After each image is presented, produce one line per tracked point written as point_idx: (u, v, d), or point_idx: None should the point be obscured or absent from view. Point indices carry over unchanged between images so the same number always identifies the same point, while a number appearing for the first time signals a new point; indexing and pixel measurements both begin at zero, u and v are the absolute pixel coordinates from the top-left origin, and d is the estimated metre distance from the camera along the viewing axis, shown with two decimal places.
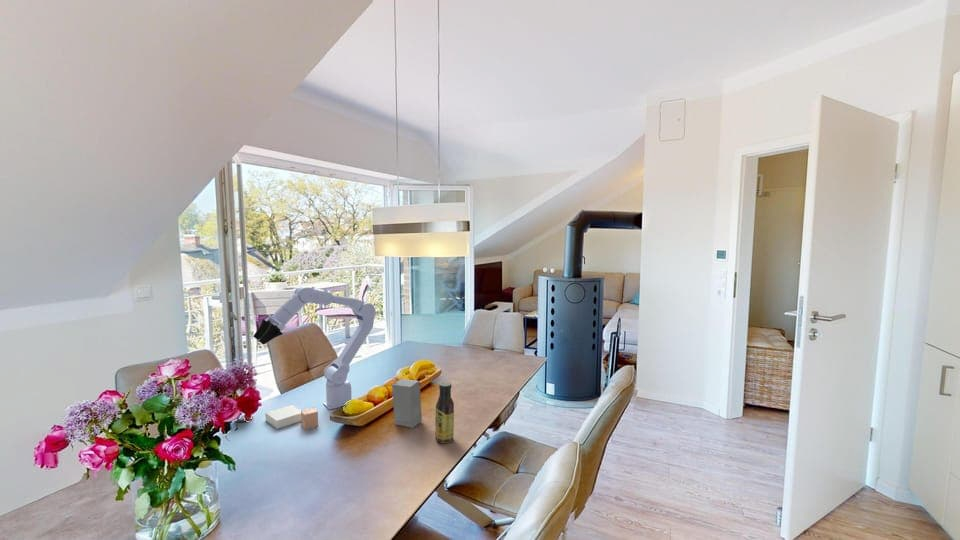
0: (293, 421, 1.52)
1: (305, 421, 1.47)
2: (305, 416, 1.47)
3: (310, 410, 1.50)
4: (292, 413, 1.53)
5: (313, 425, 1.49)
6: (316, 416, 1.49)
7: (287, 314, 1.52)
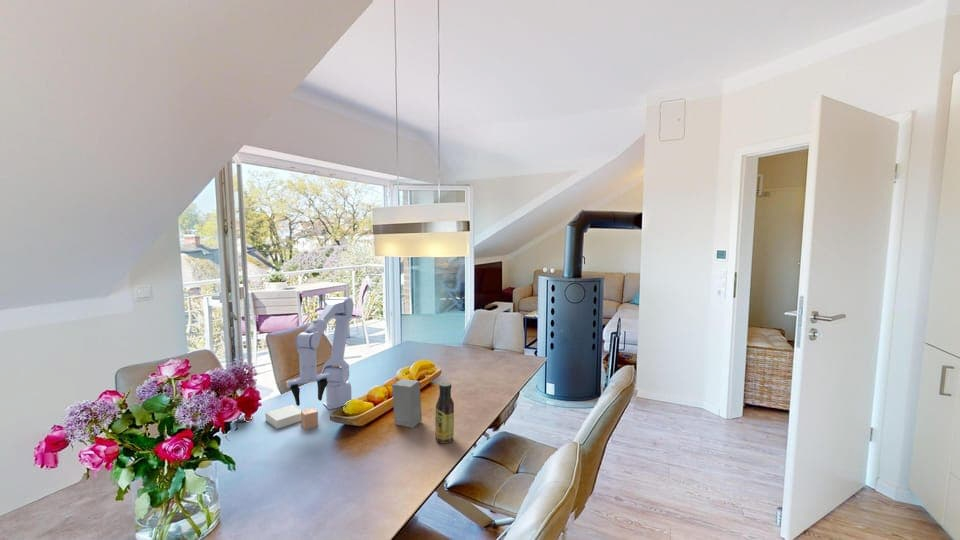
0: (293, 421, 1.52)
1: (305, 421, 1.47)
2: (305, 416, 1.47)
3: (310, 410, 1.50)
4: (292, 413, 1.53)
5: (313, 425, 1.49)
6: (316, 416, 1.49)
7: None
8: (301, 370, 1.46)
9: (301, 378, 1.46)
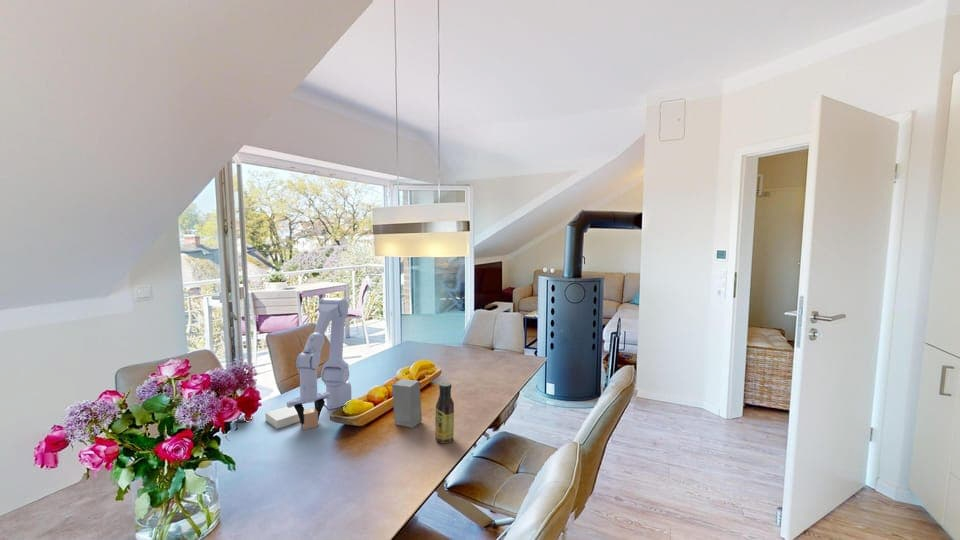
0: (293, 421, 1.52)
1: (305, 421, 1.47)
2: (305, 416, 1.47)
3: (310, 410, 1.50)
4: (292, 413, 1.53)
5: (313, 425, 1.49)
6: (316, 416, 1.49)
7: None
8: (302, 390, 1.47)
9: (302, 398, 1.47)
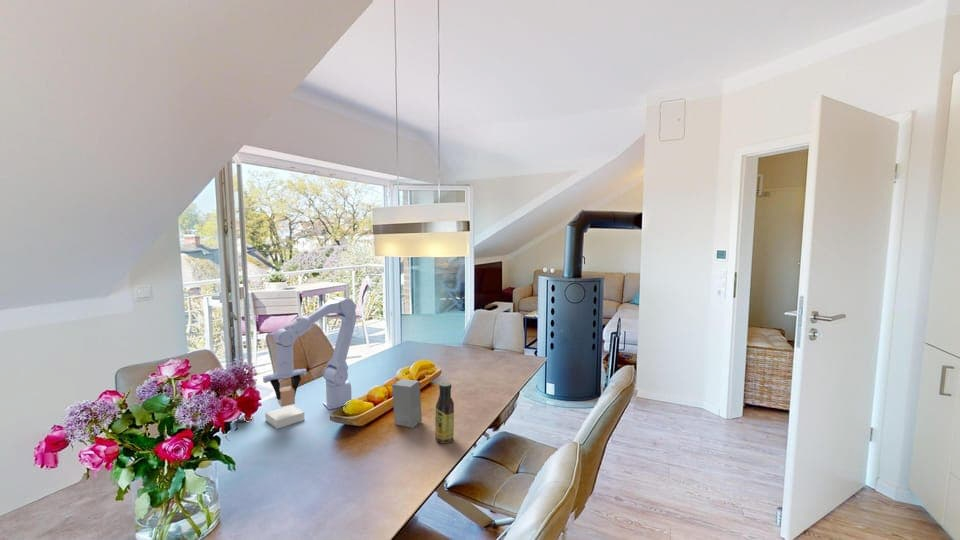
0: (293, 421, 1.52)
1: (282, 398, 1.50)
2: (282, 393, 1.50)
3: (287, 388, 1.53)
4: (292, 413, 1.53)
5: (290, 402, 1.52)
6: (293, 394, 1.52)
7: None
8: (278, 366, 1.50)
9: (278, 374, 1.50)
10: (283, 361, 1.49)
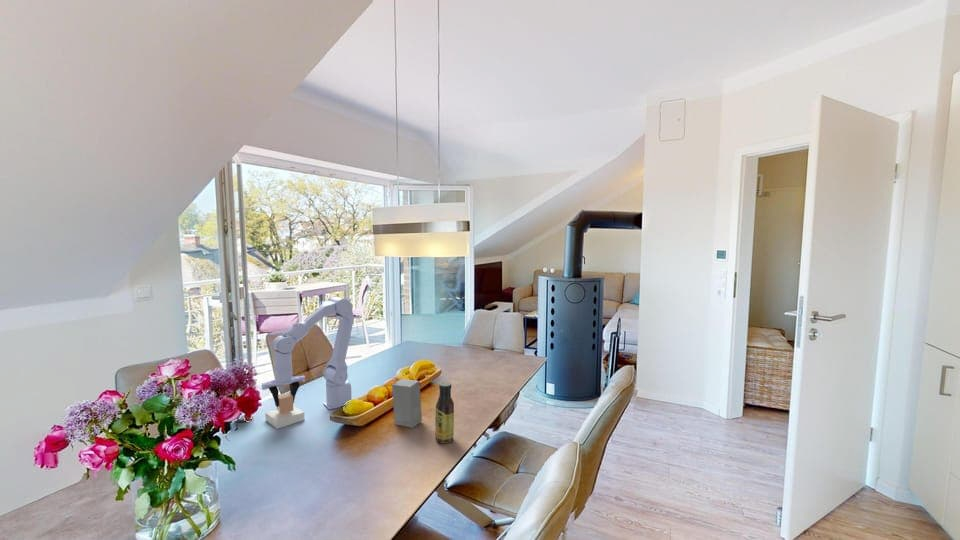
0: (293, 421, 1.52)
1: (280, 405, 1.50)
2: (280, 400, 1.50)
3: (285, 395, 1.53)
4: (292, 413, 1.53)
5: (288, 409, 1.52)
6: (291, 401, 1.53)
7: None
8: (276, 373, 1.50)
9: (276, 381, 1.51)
10: (281, 368, 1.50)
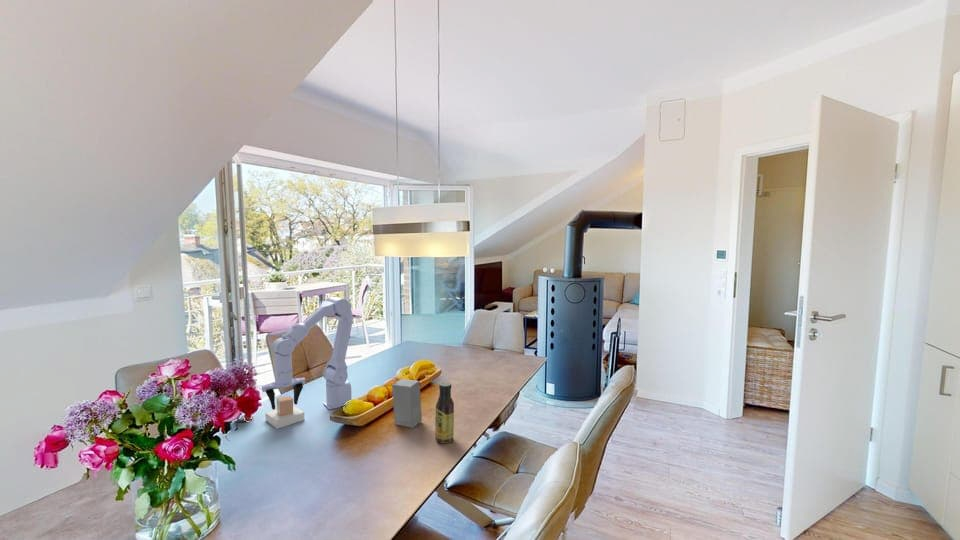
0: (293, 421, 1.52)
1: (280, 408, 1.50)
2: (280, 403, 1.50)
3: (285, 398, 1.53)
4: None
5: (288, 412, 1.52)
6: (291, 403, 1.53)
7: None
8: (276, 375, 1.50)
9: (276, 383, 1.51)
10: (281, 370, 1.50)
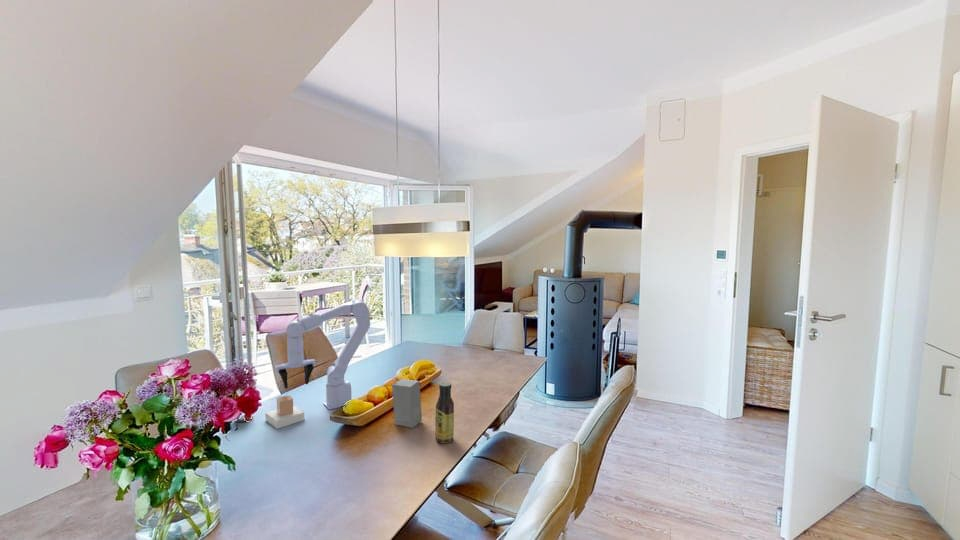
0: (293, 421, 1.52)
1: (280, 408, 1.50)
2: (280, 403, 1.50)
3: (285, 398, 1.53)
4: None
5: (288, 412, 1.52)
6: (291, 403, 1.53)
7: None
8: (289, 356, 1.59)
9: (289, 363, 1.60)
10: (290, 351, 1.59)
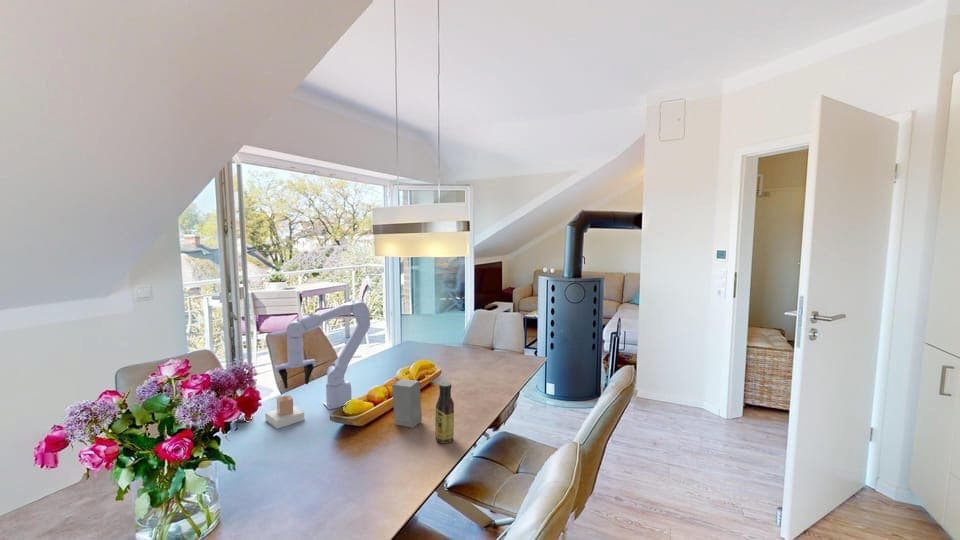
0: (293, 421, 1.52)
1: (280, 408, 1.50)
2: (280, 403, 1.50)
3: (285, 398, 1.53)
4: None
5: (288, 412, 1.52)
6: (291, 403, 1.53)
7: None
8: (289, 356, 1.59)
9: (289, 363, 1.60)
10: (290, 351, 1.59)
